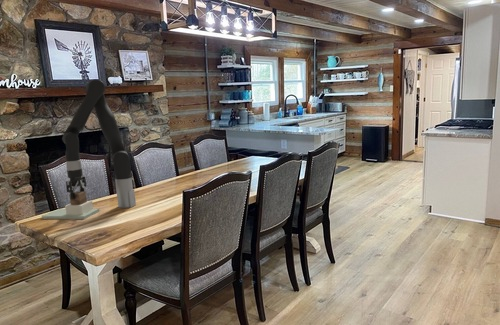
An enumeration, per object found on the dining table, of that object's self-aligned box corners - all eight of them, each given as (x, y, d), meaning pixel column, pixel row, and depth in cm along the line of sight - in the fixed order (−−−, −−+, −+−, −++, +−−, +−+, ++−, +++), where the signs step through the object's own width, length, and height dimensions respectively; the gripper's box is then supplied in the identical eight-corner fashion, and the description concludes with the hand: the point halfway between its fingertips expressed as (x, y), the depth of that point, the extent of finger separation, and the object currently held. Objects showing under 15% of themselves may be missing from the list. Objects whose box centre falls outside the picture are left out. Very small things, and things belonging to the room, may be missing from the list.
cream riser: (93, 209, 218) (92, 200, 217) (82, 214, 208) (81, 205, 207) (77, 209, 219) (76, 200, 219) (66, 214, 210) (65, 205, 209)
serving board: (99, 211, 218) (98, 208, 218) (84, 219, 205) (84, 216, 204) (58, 211, 223) (58, 208, 223) (42, 218, 210) (41, 216, 209)
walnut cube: (86, 201, 215) (85, 191, 214) (80, 204, 209) (79, 194, 208) (77, 201, 216) (76, 191, 215) (70, 204, 210) (69, 194, 210)
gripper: (72, 170, 202) (76, 200, 205) (88, 166, 216) (91, 193, 218) (59, 171, 203) (63, 200, 206) (76, 166, 217) (79, 194, 220)
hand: (78, 197), depth 212 cm, fingers open, 8 cm apart
